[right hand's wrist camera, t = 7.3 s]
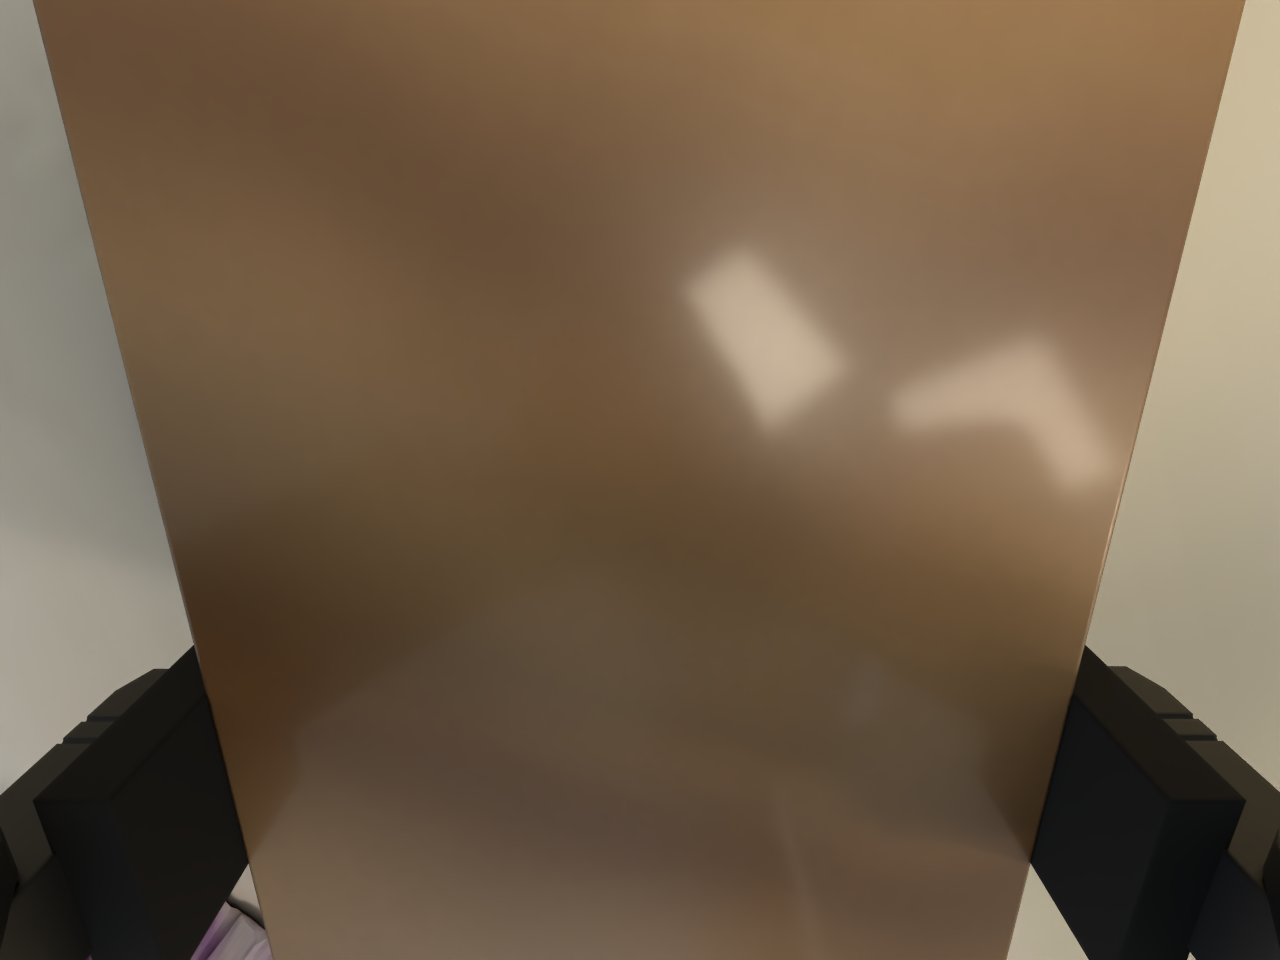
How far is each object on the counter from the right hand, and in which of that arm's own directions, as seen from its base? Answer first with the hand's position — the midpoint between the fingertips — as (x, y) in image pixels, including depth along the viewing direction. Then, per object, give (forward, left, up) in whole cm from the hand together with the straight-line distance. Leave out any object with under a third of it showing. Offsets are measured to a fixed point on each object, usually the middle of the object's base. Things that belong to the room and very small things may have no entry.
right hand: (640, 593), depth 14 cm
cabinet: (+3, -6, -3) cm, 8 cm away
